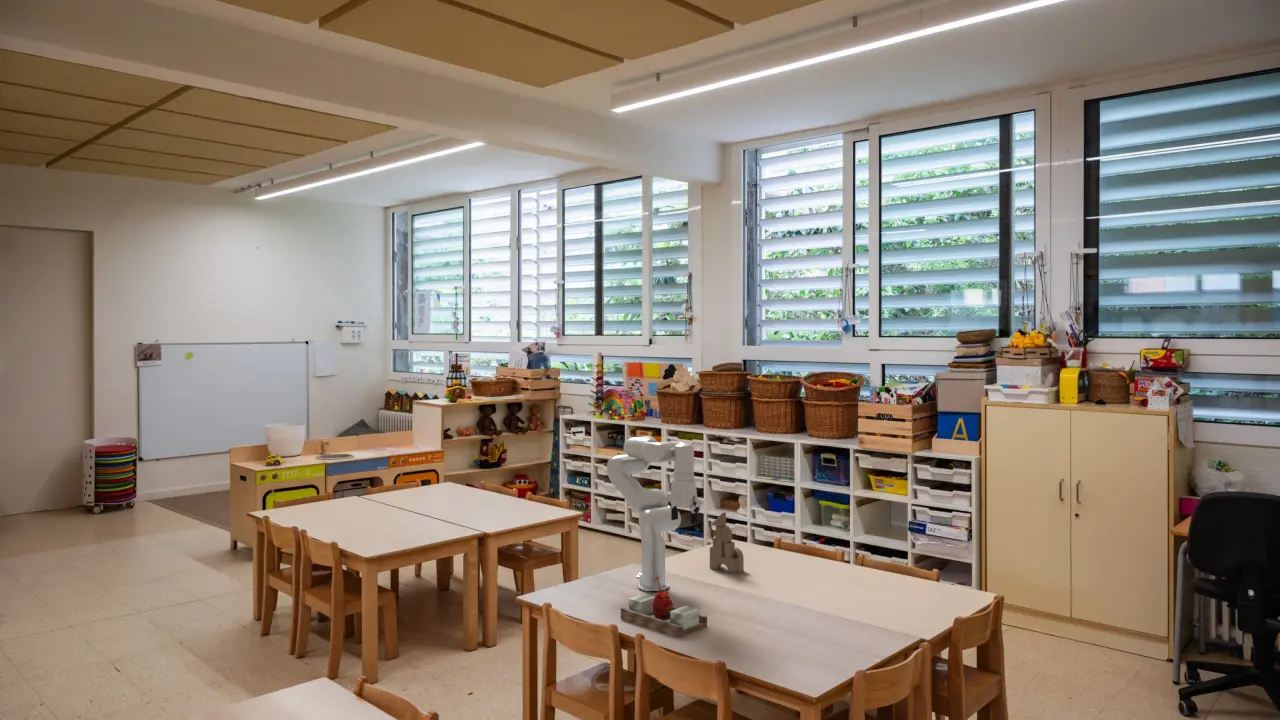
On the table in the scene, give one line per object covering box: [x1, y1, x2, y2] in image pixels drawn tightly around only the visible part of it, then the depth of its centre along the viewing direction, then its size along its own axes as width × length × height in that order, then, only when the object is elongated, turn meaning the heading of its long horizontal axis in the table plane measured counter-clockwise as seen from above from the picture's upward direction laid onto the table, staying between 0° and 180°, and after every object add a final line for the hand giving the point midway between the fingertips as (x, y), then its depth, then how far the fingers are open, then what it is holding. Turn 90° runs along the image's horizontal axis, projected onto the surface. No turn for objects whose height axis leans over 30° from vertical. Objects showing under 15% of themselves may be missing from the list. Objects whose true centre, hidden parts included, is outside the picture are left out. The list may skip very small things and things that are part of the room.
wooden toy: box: [709, 512, 745, 575], centre depth 350 cm, size 15×7×25 cm, turn 48°
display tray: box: [620, 593, 708, 638], centre depth 285 cm, size 28×14×6 cm, turn 46°
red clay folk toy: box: [653, 574, 674, 620], centre depth 285 cm, size 8×7×15 cm
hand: (684, 521), depth 308 cm, fingers open, 9 cm apart
